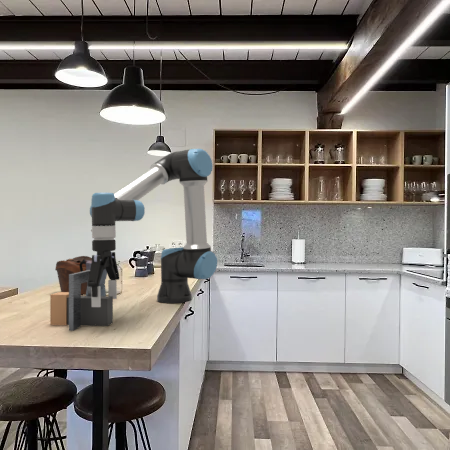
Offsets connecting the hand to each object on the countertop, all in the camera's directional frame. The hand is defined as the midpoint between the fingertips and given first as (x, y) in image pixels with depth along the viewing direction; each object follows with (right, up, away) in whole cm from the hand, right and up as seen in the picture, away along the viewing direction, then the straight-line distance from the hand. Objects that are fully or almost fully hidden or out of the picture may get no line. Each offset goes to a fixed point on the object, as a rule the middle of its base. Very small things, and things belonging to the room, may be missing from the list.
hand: (104, 302), depth 138 cm
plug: (-8, -7, +1) cm, 11 cm away
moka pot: (-16, -7, +41) cm, 44 cm away
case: (-33, -8, +63) cm, 72 cm away
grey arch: (-7, -7, 0) cm, 10 cm away
